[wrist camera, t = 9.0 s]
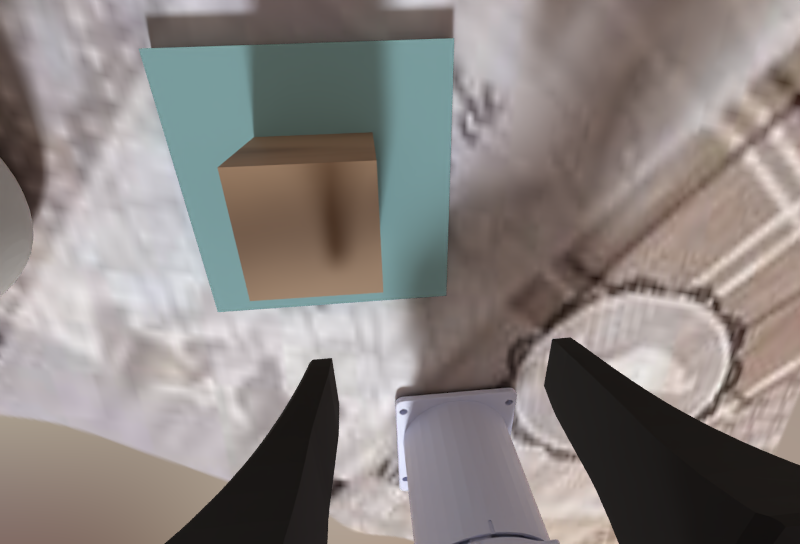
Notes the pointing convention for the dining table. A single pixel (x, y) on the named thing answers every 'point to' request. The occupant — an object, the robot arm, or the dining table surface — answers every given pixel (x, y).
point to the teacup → (13, 229)
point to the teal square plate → (311, 115)
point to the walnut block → (305, 215)
